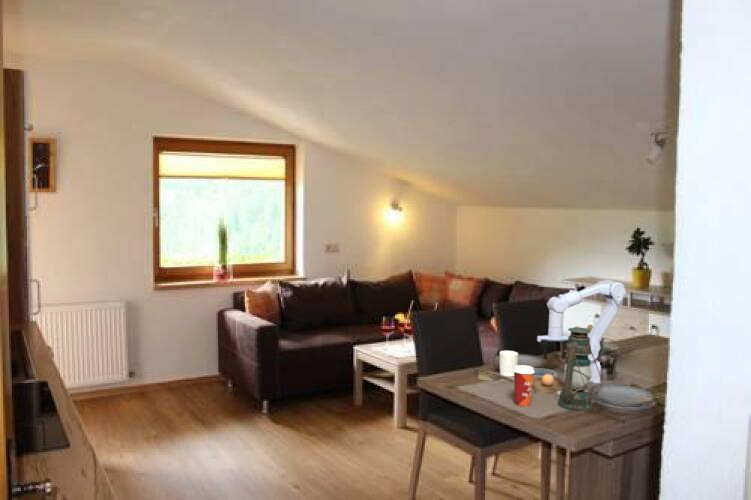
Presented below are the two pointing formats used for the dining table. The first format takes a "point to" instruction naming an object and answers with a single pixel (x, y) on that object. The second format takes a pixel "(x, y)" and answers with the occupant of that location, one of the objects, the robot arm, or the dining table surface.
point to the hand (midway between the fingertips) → (554, 358)
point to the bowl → (543, 372)
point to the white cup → (508, 362)
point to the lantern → (577, 372)
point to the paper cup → (523, 384)
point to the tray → (543, 389)
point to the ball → (547, 380)
